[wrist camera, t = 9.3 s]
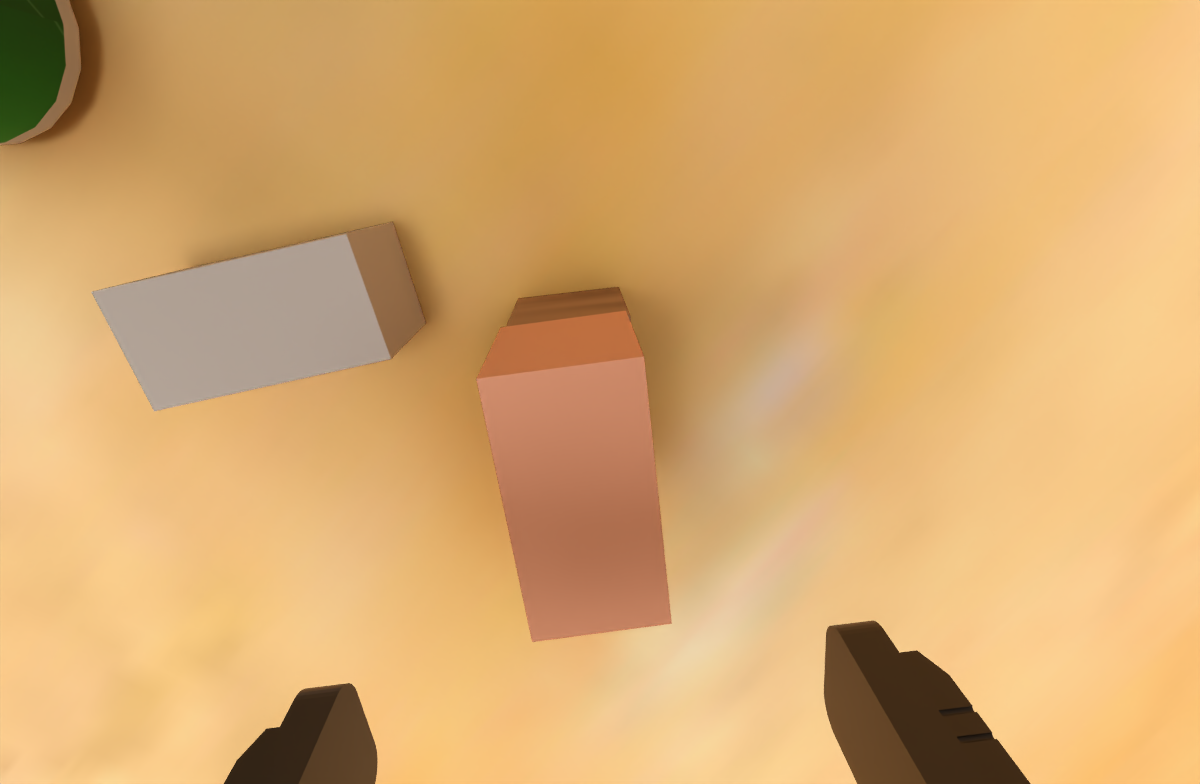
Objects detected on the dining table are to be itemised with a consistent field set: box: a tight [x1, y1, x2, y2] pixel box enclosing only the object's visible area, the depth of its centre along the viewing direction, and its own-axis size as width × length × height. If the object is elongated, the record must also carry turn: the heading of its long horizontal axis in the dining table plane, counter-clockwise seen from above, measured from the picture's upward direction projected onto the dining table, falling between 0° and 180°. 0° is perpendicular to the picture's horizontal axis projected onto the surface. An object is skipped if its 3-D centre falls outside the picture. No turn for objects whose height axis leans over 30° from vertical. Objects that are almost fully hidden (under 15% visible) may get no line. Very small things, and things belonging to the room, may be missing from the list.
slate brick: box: [92, 222, 426, 411], centre depth 21 cm, size 8×4×5 cm, turn 102°
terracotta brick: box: [476, 311, 672, 642], centre depth 18 cm, size 8×4×5 cm, turn 7°
